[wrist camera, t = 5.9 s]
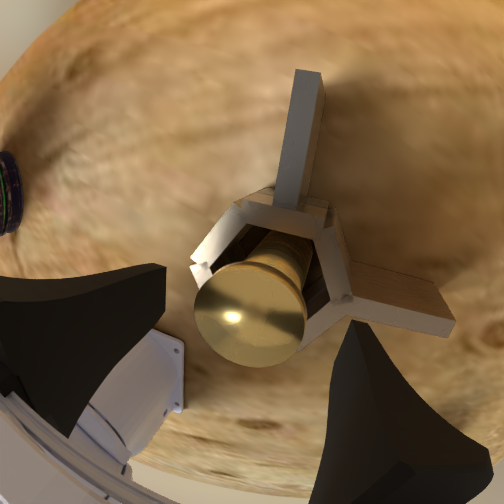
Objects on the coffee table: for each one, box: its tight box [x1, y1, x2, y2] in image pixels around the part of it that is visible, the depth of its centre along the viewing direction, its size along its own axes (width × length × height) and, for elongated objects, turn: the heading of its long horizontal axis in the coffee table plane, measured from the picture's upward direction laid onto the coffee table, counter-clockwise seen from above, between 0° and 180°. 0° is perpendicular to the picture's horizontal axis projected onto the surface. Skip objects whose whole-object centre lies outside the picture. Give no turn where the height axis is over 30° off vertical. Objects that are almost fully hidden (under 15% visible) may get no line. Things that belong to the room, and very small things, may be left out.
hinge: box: [190, 69, 456, 352], centre depth 14 cm, size 13×13×4 cm
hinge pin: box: [194, 230, 313, 368], centre depth 14 cm, size 4×4×8 cm
